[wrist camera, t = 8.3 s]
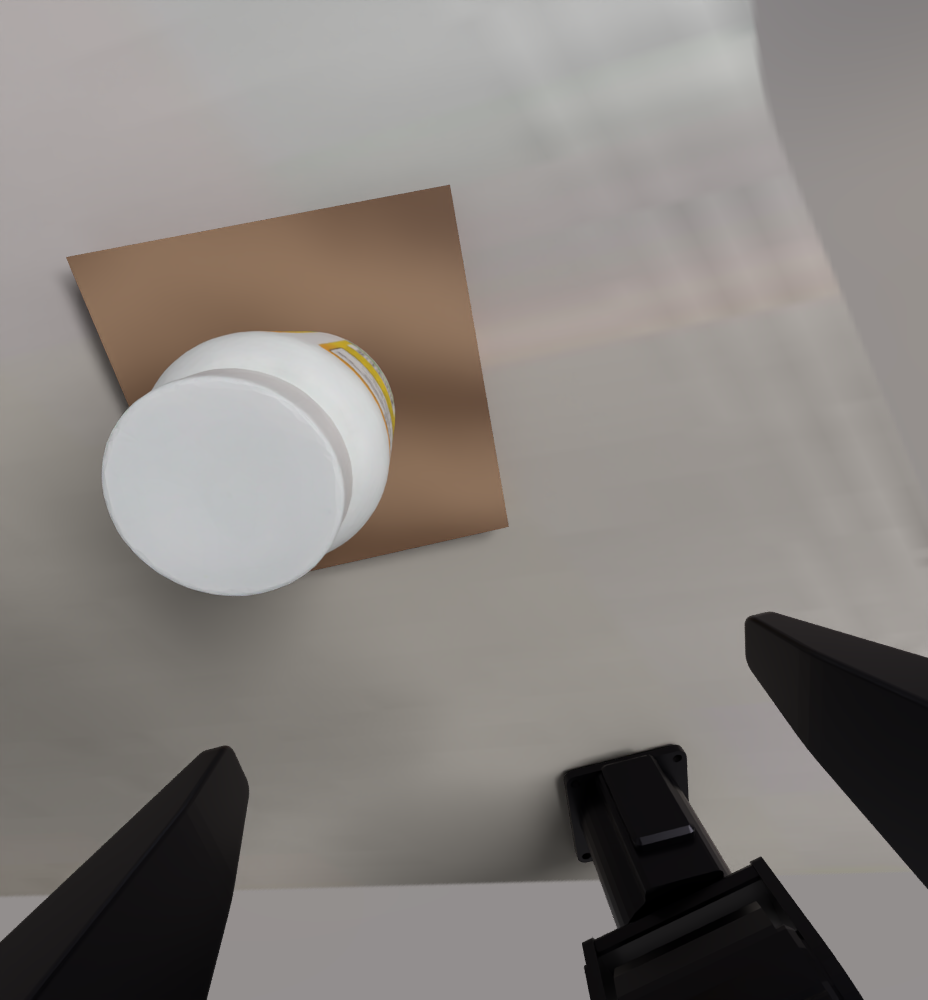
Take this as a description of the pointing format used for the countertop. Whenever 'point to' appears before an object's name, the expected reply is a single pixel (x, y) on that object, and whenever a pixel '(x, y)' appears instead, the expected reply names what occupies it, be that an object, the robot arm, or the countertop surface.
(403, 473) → the walnut board
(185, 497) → the supplement bottle
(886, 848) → the countertop surface
